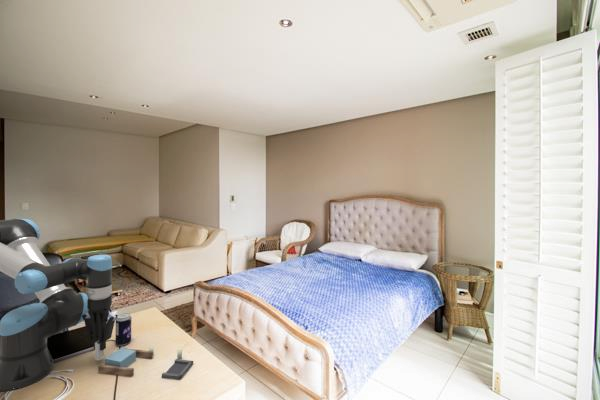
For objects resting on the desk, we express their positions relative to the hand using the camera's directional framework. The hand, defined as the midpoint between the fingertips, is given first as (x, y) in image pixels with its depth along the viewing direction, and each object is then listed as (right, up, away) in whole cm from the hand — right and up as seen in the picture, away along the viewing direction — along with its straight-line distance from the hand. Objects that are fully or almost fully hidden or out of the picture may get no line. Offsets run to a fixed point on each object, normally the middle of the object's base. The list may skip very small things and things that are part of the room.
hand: (99, 357), depth 105 cm
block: (+9, -2, -1) cm, 9 cm away
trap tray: (+31, -3, -4) cm, 32 cm away
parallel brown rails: (+11, -2, -1) cm, 11 cm away
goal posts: (+23, -2, +4) cm, 23 cm away
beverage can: (+1, -2, +13) cm, 13 cm away
